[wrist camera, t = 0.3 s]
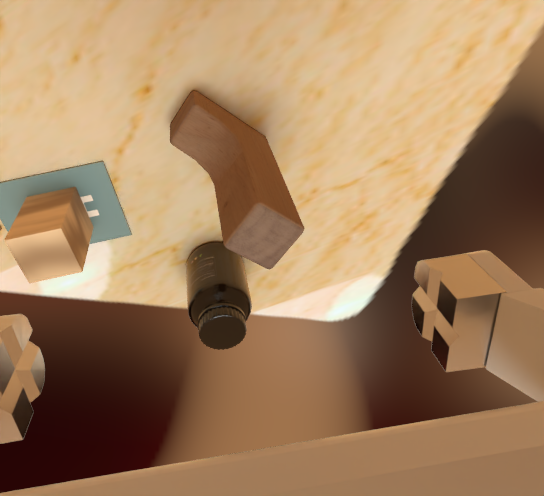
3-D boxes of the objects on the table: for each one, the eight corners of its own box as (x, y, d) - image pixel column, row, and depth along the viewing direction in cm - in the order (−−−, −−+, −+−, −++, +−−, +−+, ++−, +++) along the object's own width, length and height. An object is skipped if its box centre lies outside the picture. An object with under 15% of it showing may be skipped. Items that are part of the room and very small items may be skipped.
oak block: (26, 197, 48) (4, 240, 42) (75, 186, 49) (60, 228, 42) (47, 236, 51) (29, 283, 45) (93, 226, 52) (82, 271, 45)
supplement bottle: (254, 262, 58) (270, 331, 49) (213, 294, 60) (221, 367, 50) (215, 229, 55) (225, 297, 45) (173, 264, 56) (173, 336, 47)
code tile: (-18, 186, 47) (-19, 187, 47) (103, 160, 48) (102, 161, 48) (23, 257, 52) (23, 258, 52) (131, 233, 53) (131, 234, 53)
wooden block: (168, 125, 47) (166, 220, 32) (192, 87, 45) (202, 169, 31) (242, 170, 51) (270, 273, 36) (267, 137, 49) (307, 230, 35)
